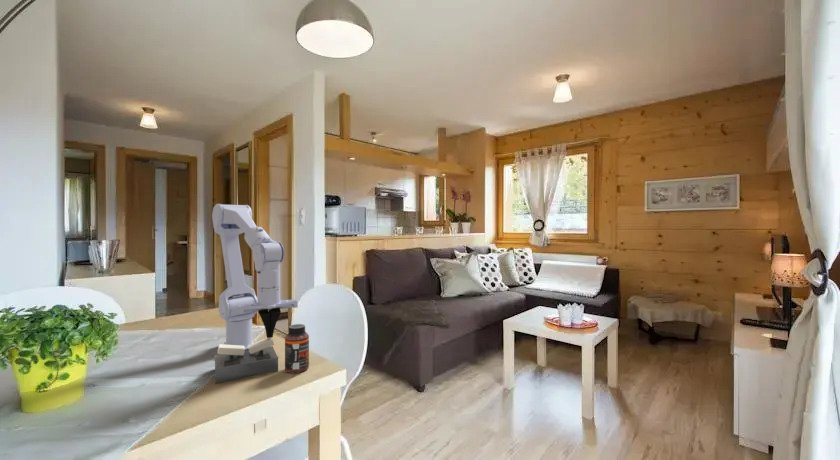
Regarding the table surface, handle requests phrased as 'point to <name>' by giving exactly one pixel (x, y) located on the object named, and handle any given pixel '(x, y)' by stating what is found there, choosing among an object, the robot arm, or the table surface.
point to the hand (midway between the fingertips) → (269, 336)
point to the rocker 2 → (260, 345)
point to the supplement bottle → (296, 349)
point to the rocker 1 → (231, 349)
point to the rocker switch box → (245, 365)
